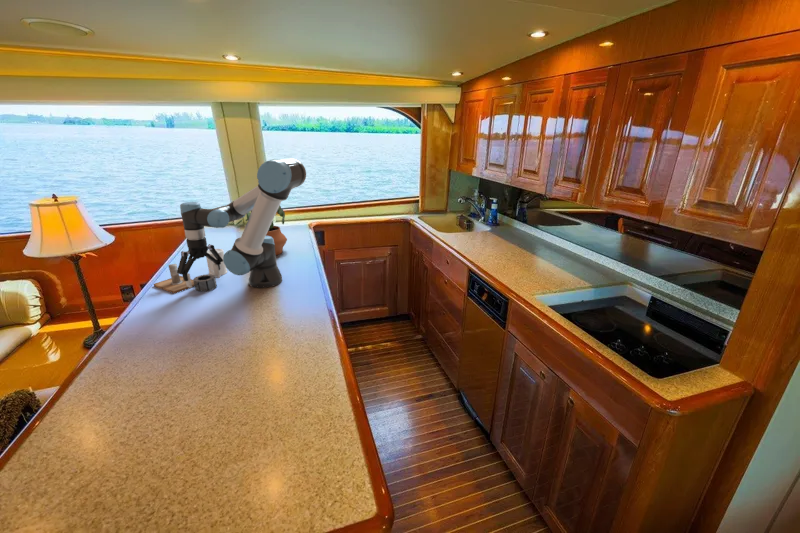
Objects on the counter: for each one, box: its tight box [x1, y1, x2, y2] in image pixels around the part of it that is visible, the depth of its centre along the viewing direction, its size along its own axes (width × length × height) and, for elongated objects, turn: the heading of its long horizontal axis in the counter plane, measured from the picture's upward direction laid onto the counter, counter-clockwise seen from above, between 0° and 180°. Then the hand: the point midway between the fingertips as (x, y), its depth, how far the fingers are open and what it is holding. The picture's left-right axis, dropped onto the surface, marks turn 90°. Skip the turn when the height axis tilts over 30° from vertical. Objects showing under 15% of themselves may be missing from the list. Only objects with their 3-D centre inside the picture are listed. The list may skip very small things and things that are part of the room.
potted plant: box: [234, 205, 288, 256], centre depth 198 cm, size 23×28×30 cm
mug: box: [205, 248, 229, 276], centre depth 169 cm, size 12×8×12 cm
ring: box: [192, 273, 218, 293], centre depth 155 cm, size 8×8×5 cm
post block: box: [153, 263, 195, 294], centre depth 156 cm, size 16×12×10 cm
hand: (204, 281), depth 155 cm, fingers open, 13 cm apart
